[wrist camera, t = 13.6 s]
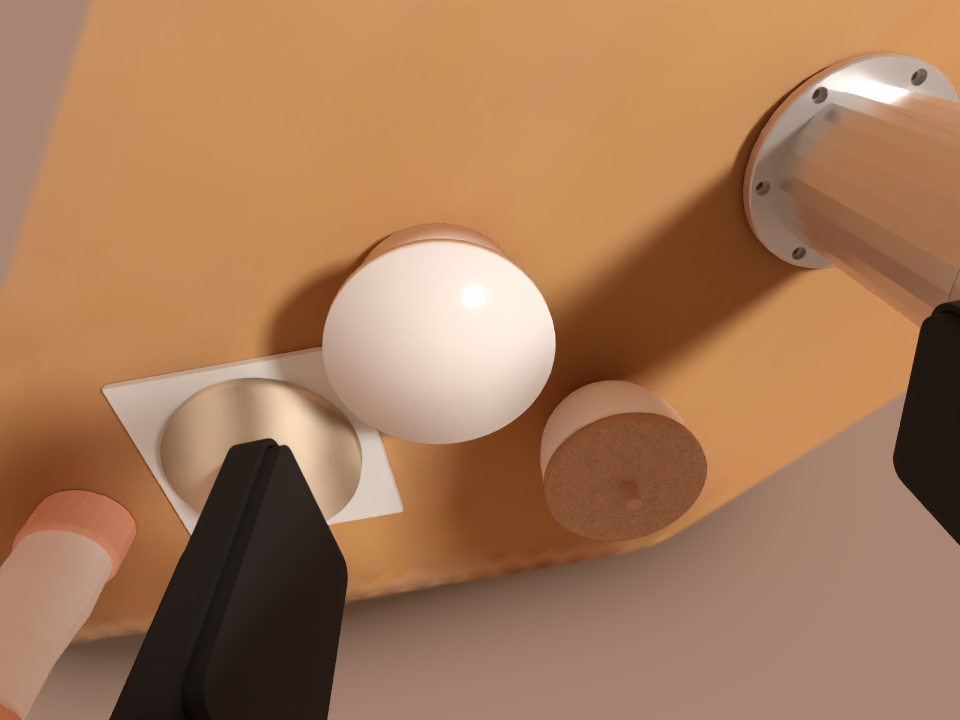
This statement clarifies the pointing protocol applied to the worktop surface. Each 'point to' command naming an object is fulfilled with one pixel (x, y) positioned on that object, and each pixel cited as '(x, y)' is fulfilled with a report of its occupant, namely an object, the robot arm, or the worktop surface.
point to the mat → (159, 397)
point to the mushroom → (438, 337)
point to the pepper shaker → (54, 586)
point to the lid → (259, 415)
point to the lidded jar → (619, 462)
